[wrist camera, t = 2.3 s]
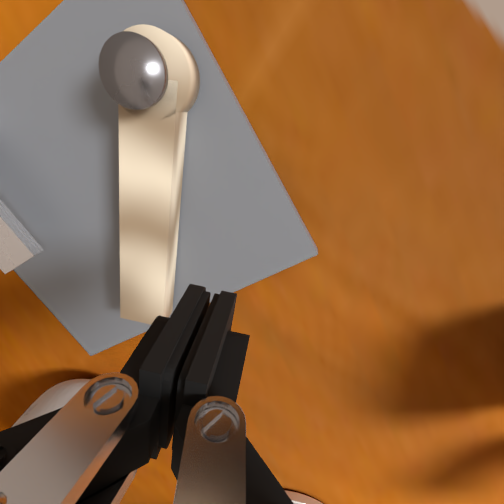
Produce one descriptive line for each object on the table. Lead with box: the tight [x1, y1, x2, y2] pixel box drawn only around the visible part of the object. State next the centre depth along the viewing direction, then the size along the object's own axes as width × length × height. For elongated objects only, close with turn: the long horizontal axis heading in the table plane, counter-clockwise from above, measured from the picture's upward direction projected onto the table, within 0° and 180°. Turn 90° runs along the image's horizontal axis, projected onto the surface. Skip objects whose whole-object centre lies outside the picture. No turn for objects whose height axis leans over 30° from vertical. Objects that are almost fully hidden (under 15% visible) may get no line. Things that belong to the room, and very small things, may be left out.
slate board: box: [0, 0, 318, 356], centre depth 23 cm, size 20×22×1 cm
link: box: [99, 24, 200, 324], centre depth 20 cm, size 18×4×4 cm, turn 170°
